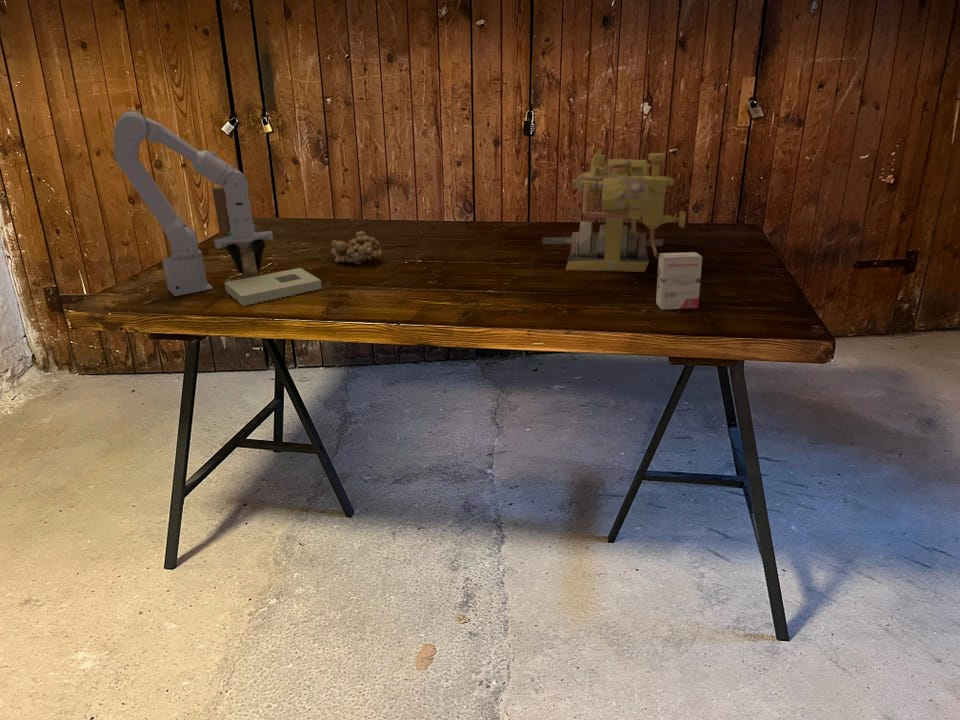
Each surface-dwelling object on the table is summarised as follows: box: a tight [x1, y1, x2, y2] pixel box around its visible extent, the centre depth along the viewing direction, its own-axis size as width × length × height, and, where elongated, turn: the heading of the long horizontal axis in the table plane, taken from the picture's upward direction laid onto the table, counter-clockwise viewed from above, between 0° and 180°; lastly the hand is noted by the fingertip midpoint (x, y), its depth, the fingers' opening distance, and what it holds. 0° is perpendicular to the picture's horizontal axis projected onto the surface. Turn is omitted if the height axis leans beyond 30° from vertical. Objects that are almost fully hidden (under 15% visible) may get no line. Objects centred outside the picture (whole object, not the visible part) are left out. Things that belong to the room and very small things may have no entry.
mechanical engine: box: [541, 148, 686, 273], centre depth 188 cm, size 39×37×30 cm
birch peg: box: [240, 249, 259, 279], centre depth 187 cm, size 4×4×8 cm
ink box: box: [655, 251, 703, 310], centre depth 160 cm, size 9×5×12 cm, turn 92°
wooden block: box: [212, 186, 255, 248], centre depth 220 cm, size 4×11×18 cm, turn 83°
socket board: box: [223, 267, 323, 307], centre depth 180 cm, size 20×14×2 cm
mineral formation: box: [330, 230, 383, 265], centre depth 201 cm, size 8×13×15 cm
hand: (249, 270), depth 188 cm, fingers closed on birch peg, 4 cm apart
